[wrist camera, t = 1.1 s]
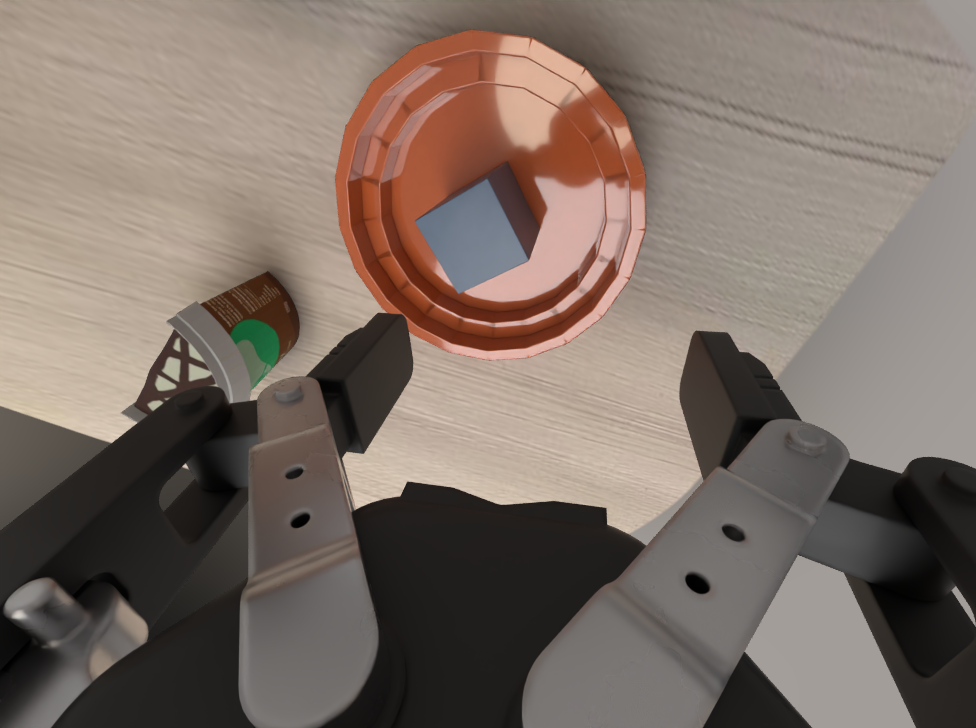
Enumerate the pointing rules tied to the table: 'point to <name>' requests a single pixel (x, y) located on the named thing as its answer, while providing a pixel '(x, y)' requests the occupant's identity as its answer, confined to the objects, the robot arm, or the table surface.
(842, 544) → the robot arm
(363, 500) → the table surface
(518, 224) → the block
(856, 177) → the table surface
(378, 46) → the table surface
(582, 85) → the bowl
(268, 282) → the food container
